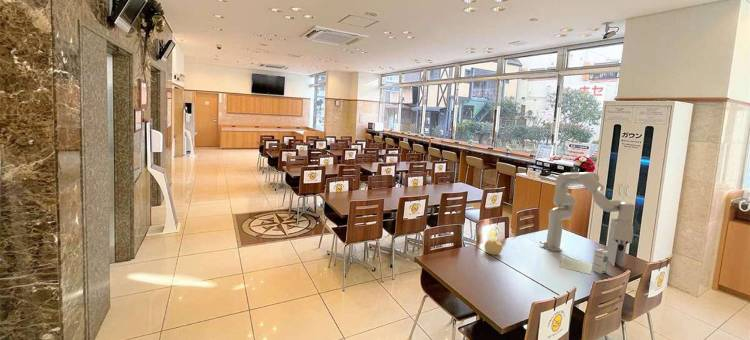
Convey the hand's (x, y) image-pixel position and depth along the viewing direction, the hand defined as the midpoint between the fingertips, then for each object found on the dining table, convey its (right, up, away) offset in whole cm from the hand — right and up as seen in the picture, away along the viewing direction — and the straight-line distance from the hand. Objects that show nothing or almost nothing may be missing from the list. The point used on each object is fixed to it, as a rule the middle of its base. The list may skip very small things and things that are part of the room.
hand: (620, 250), depth 226 cm
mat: (-19, -14, +15) cm, 28 cm away
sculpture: (-71, -9, +29) cm, 77 cm away
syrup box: (-9, -16, +8) cm, 20 cm away
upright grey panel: (+12, -14, +24) cm, 31 cm away
